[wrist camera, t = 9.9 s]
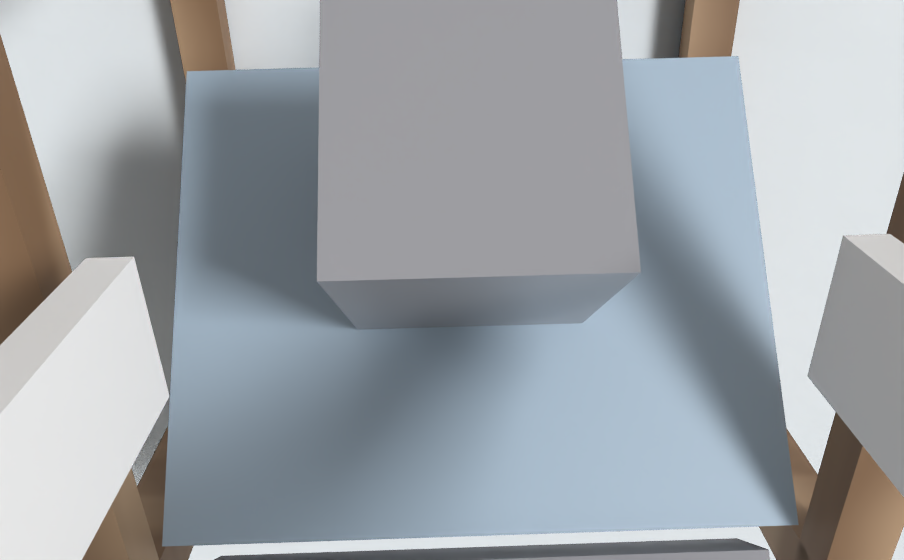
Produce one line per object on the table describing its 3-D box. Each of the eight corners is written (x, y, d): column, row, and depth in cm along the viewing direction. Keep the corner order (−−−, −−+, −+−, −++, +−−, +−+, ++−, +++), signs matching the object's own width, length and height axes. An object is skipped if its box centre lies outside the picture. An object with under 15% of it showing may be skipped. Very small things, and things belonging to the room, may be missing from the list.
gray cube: (357, 329, 19) (317, 281, 13) (357, 120, 20) (320, -8, 14) (582, 323, 19) (640, 272, 13) (568, 115, 20) (615, -15, 15)
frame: (240, 326, 32) (94, 645, 18) (140, -208, 23) (-309, -379, 9) (682, 312, 32) (869, 617, 19) (761, -222, 23) (1254, -412, 9)
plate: (178, 687, 19) (146, 716, 17) (205, 96, 22) (181, 64, 20) (788, 665, 19) (827, 691, 17) (718, 82, 22) (743, 49, 20)
